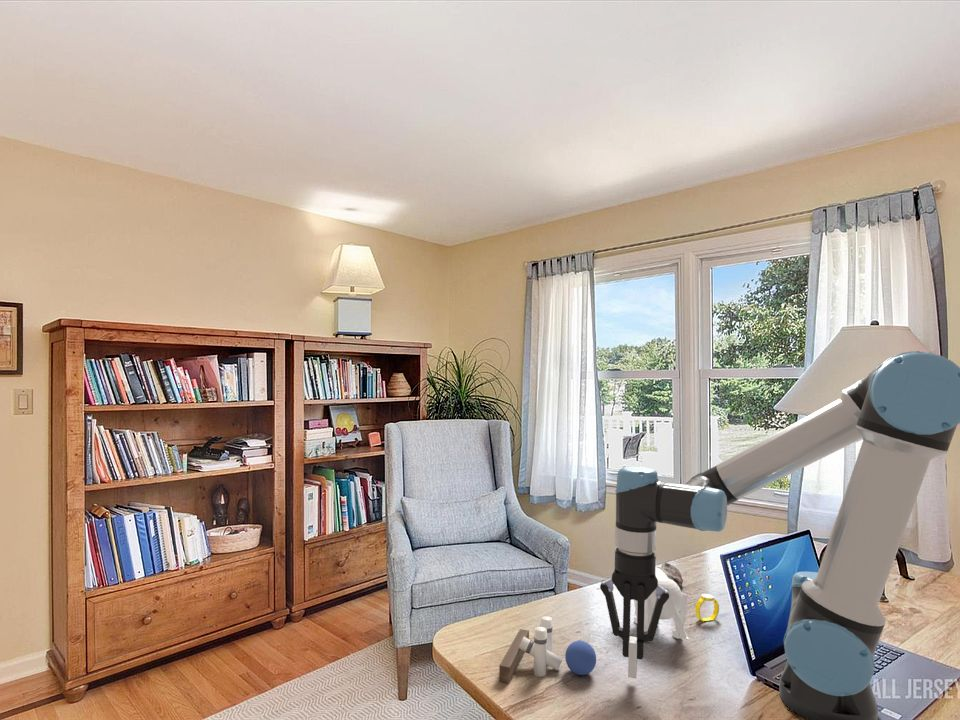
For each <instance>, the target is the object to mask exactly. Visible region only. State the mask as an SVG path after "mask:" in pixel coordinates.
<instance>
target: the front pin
mask: <svg viewBox="0 0 960 720" xmlns="http://www.w3.org/2000/svg"><path fill="white" fill-rule="evenodd" d="M519 649H521V650H523V651H525V653H526V654H528V655H529V656H532V658H534V640H531V639H530V638H529V639H528V638H526V637H523V639H522V641H521V644H520V646H519ZM562 662H563V657H561V656H558V655H557V654H555V653H553V652H552V651H551V652H550V651H548V650H547V652H546V666H548V667H550V668H552V669H553V670H556V671H557V672H558V671H559V669H560V666H561V664H562Z"/></svg>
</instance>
